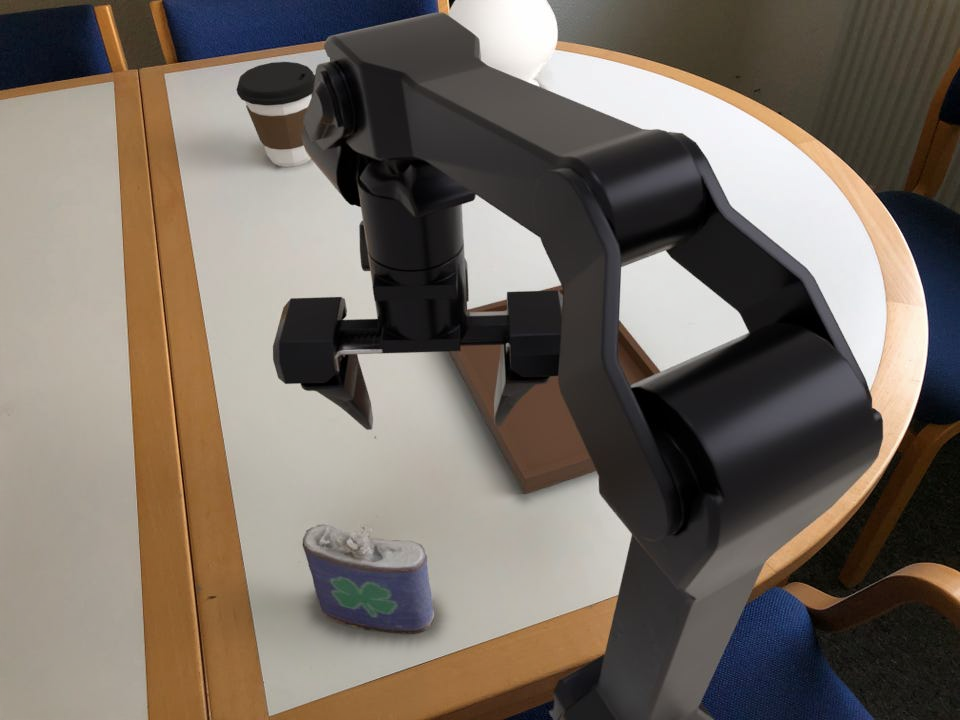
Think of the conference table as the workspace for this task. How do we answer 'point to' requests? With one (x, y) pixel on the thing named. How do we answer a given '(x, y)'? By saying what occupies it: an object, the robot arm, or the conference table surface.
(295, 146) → the coffee cup
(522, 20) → the decorative vase
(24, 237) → the conference table surface
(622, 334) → the serving tray
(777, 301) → the robot arm
